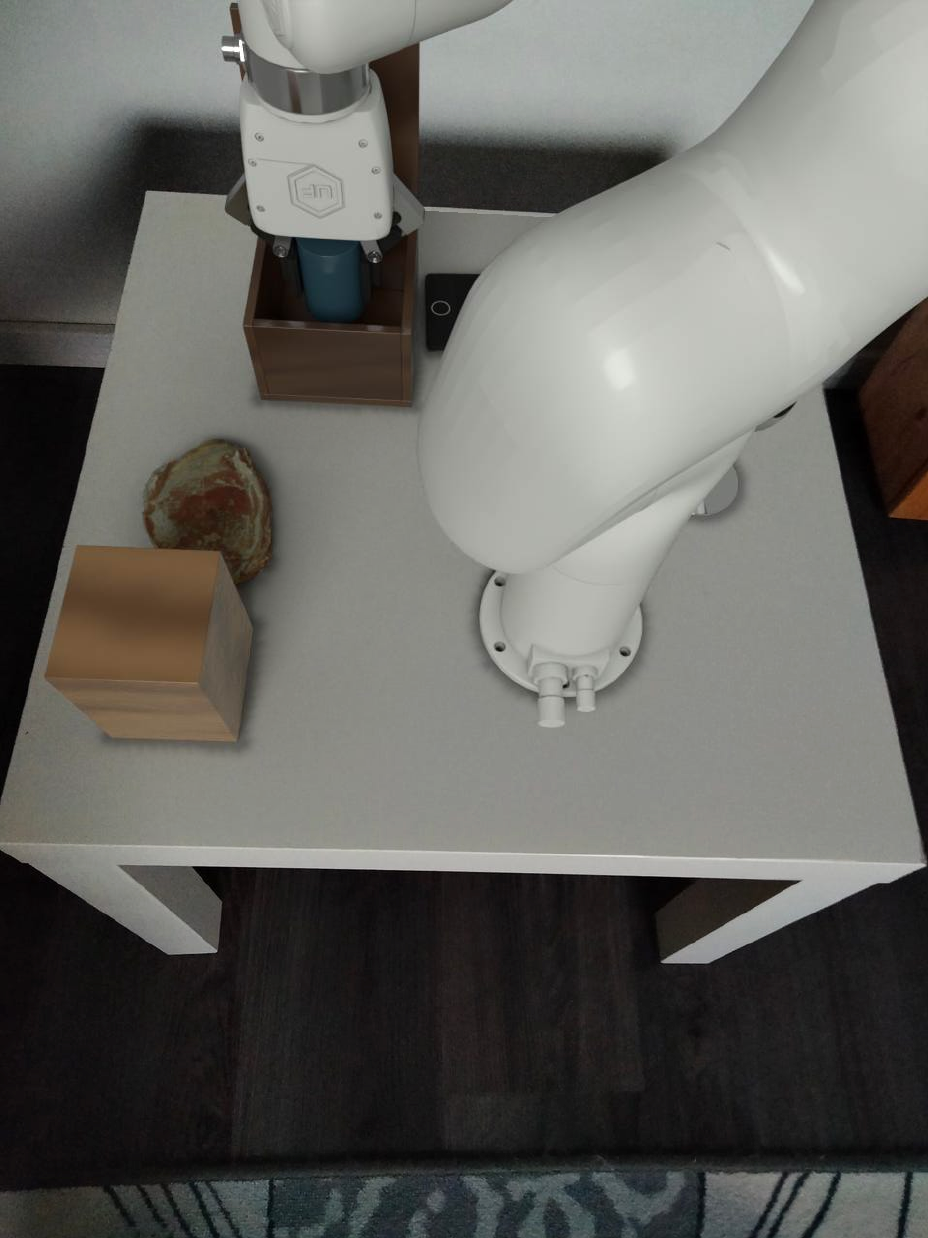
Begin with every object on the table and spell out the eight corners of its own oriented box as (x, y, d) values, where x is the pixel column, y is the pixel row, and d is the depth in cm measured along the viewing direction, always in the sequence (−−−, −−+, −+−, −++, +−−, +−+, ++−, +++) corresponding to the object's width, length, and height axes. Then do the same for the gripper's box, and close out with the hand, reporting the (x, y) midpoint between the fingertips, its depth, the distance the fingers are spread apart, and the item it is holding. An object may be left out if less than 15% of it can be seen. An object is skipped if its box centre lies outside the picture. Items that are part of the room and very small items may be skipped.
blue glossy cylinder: (363, 326, 70) (358, 258, 63) (303, 323, 69) (291, 254, 63) (367, 281, 72) (363, 211, 65) (308, 278, 71) (298, 207, 65)
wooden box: (411, 407, 74) (411, 334, 66) (261, 399, 73) (242, 325, 65) (418, 291, 79) (418, 212, 71) (278, 284, 79) (263, 203, 71)
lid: (419, 20, 58) (422, -17, 61) (229, 7, 58) (240, -30, 60) (418, 210, 71) (420, 173, 73) (261, 201, 70) (269, 164, 73)
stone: (125, 488, 69) (112, 466, 66) (237, 438, 71) (229, 415, 68) (191, 616, 64) (179, 598, 61) (309, 559, 67) (303, 539, 64)
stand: (238, 742, 60) (198, 683, 49) (110, 737, 60) (43, 678, 49) (253, 628, 64) (220, 550, 53) (134, 623, 64) (76, 544, 53)
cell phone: (424, 280, 80) (424, 272, 79) (611, 282, 81) (613, 274, 80) (426, 352, 76) (426, 344, 75) (621, 353, 77) (624, 346, 76)
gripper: (160, 91, 51) (223, 316, 67) (443, 110, 51) (436, 327, 68) (180, 16, 54) (235, 248, 70) (447, 34, 54) (439, 260, 71)
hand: (334, 285), depth 69 cm, fingers closed on blue glossy cylinder, 5 cm apart
